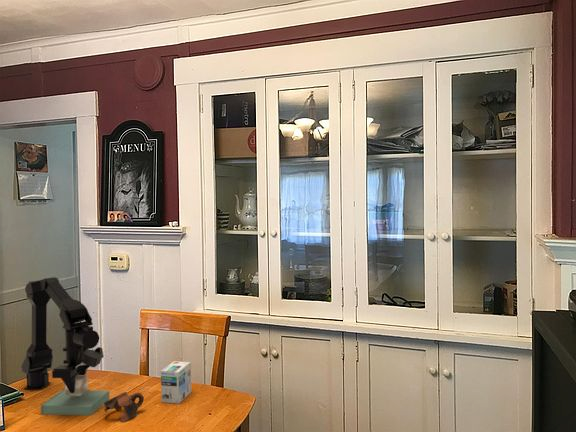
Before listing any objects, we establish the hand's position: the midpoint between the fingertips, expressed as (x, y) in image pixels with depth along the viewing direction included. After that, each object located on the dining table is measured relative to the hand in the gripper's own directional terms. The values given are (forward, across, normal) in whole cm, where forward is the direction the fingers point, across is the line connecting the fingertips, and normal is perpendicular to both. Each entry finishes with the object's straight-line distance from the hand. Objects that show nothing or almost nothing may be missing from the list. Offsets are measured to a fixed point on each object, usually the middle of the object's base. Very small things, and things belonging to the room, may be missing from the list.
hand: (76, 389), depth 163 cm
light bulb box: (+6, +9, -31) cm, 33 cm away
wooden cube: (+1, 0, 0) cm, 1 cm away
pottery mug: (+6, -6, -19) cm, 21 cm away
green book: (+6, 0, 0) cm, 6 cm away
